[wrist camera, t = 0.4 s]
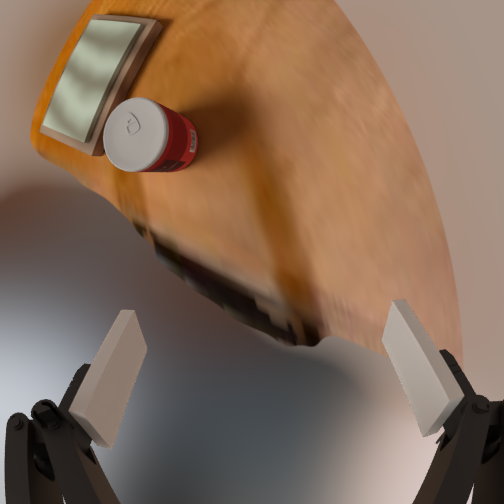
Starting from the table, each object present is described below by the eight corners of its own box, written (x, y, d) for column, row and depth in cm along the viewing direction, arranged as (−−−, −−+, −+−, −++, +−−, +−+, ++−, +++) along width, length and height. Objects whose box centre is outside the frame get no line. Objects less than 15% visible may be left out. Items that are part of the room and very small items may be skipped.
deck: (101, 19, 32) (90, 12, 29) (163, 26, 32) (153, 17, 29) (48, 132, 38) (35, 131, 35) (101, 156, 38) (87, 155, 35)
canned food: (177, 104, 35) (138, 82, 24) (212, 146, 36) (182, 134, 25) (137, 142, 37) (91, 134, 26) (170, 183, 38) (128, 187, 27)
